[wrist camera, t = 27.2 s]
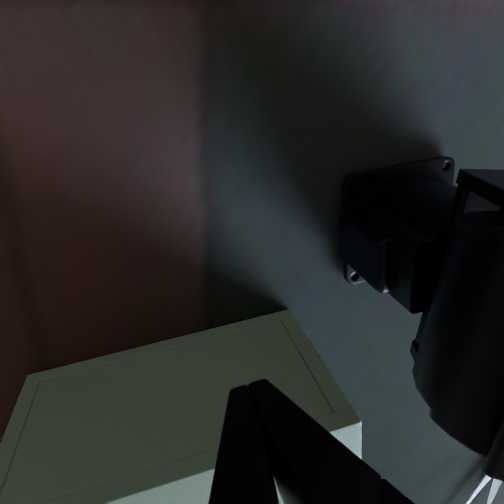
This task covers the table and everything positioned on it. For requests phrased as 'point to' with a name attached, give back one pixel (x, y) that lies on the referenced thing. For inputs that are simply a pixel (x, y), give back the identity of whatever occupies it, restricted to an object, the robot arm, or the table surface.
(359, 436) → the cabinet
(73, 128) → the table surface
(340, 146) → the table surface
